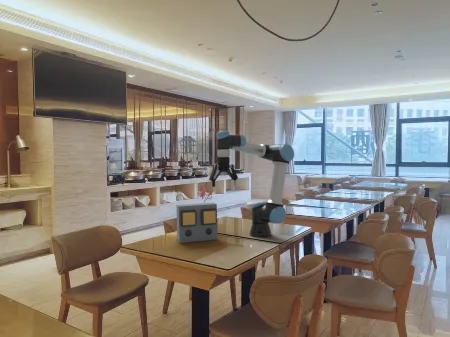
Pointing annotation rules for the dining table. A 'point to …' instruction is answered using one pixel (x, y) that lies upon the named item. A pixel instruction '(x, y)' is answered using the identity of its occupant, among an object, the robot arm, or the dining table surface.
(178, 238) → the grey knob panel box
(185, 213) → the switch key
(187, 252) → the dining table surface
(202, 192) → the red coral
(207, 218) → the switch key
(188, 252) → the dining table surface
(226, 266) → the dining table surface
